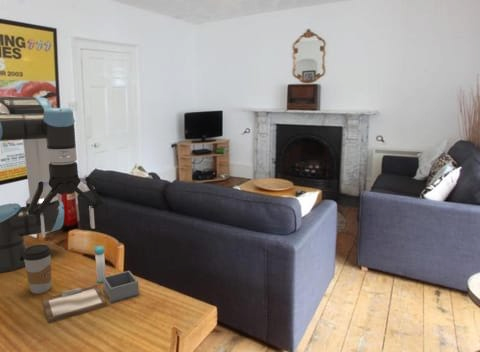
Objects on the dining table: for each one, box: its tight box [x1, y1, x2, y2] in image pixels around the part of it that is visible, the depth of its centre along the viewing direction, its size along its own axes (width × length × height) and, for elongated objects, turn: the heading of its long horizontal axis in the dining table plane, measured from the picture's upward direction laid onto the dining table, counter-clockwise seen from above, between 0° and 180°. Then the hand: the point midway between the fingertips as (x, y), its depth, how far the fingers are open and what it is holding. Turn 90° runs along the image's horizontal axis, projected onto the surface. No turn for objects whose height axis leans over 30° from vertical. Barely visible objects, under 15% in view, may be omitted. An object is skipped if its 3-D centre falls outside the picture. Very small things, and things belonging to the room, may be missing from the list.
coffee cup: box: [23, 244, 52, 295], centre depth 124 cm, size 8×8×15 cm
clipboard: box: [42, 284, 108, 324], centre depth 117 cm, size 13×17×2 cm
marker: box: [94, 245, 107, 284], centre depth 131 cm, size 3×3×13 cm
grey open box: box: [102, 270, 140, 304], centre depth 124 cm, size 9×9×5 cm
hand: (68, 231), depth 110 cm, fingers open, 13 cm apart
